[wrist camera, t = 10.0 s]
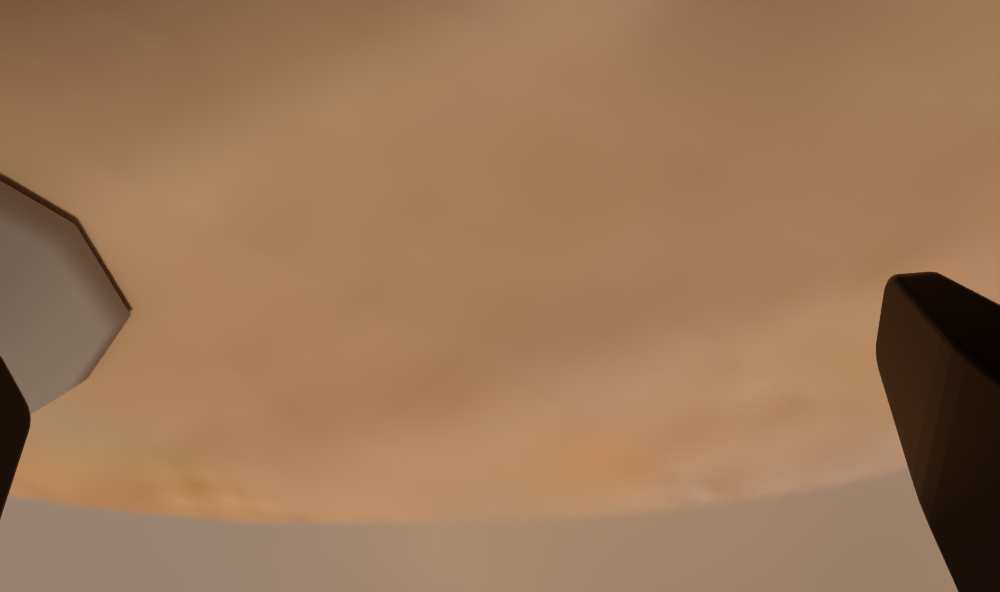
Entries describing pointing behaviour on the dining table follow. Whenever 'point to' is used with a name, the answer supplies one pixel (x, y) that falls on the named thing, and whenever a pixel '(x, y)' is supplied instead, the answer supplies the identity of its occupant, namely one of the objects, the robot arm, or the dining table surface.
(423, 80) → the dining table surface
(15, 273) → the grey flared piece
